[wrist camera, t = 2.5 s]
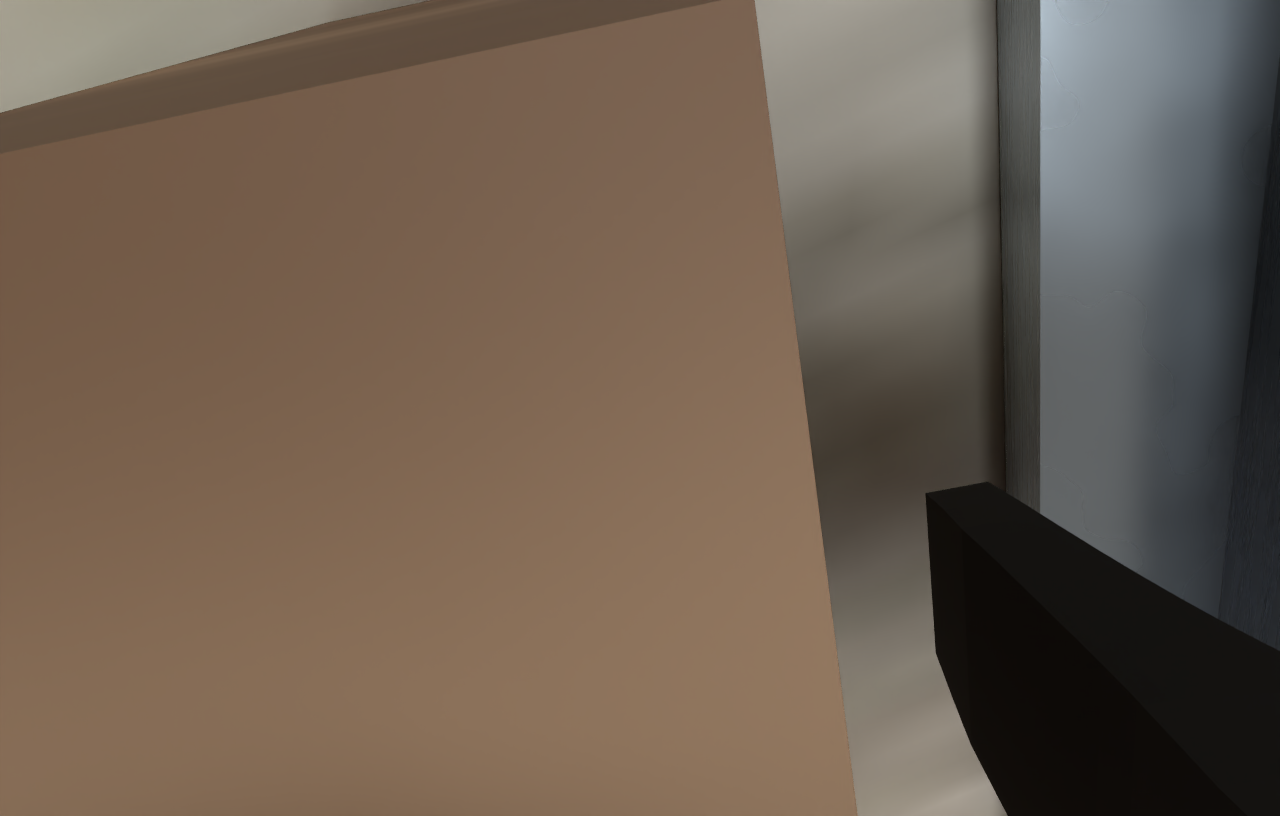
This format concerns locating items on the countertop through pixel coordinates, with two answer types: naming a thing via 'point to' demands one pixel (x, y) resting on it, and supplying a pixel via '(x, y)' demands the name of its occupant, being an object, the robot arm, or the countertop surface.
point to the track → (1147, 287)
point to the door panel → (413, 430)
